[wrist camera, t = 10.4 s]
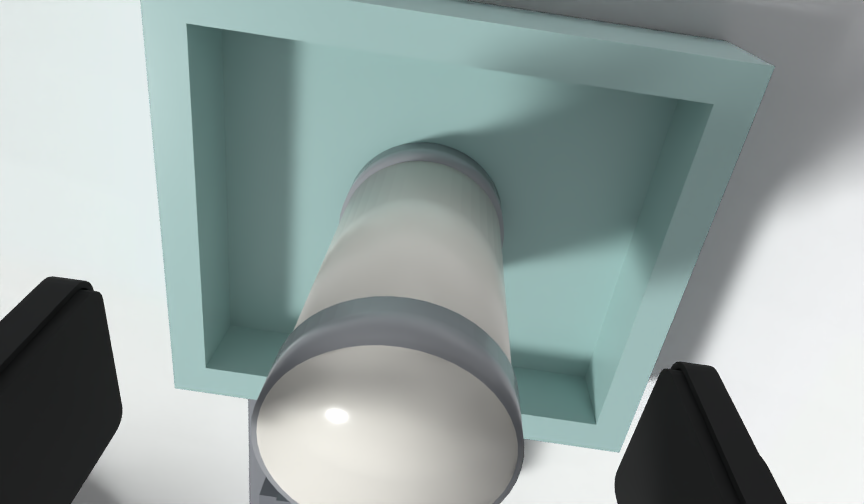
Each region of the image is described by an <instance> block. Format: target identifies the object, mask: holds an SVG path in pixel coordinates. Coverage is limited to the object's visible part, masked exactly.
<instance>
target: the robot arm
mask: <svg viewBox="0 0 864 504" xmlns="http://www.w3.org/2000/svg"><path fill="white" fill-rule="evenodd" d="M121 418H122V403H121V397H120V392H119V386H118V380H117V375H116V369H115V363H114V358H113V352H112V347H111V341H110V335H109V330H108V324H107V319H106V313H105V307H104V302H103V298H102V295H101V294H100V292H97V291H94V290H93V287H92V285H91V284H90V283H89V282H87V281H82V280H75V279H68V278H60V277H53V276H52V277H47V278H46V279H44V280H43V281H42V282H41V283H40V284H39V285H38V286H37V287H36V288H34V289H33V290H32V291H31V292H30V293H29V294H28V295H27V296H26V297H25V298H24V299H23V300H22V301H21V302H20V303H19V304H18V305H17V306H16V307H15V308H14V309H13V310H12V311H10V312H9V313H8V314H7V315H6V316H5V317H4V318H3V319H2V320H1V321H0V504H71V503H72V501H73V499H74V498H75V496H76V495H77V493H78V491H79V490H80V488H81V487H82V485H83V483H84V482H85V480H86V479H87V477H88V476H89V474H90V472H91V471H92V469H93V468H94V466H95V464H96V463H97V461H98V460H99V458H100V456H101V455H102V453H103V452H104V450H105V448H106V447H107V445H108V444H109V442H110V441H111V439H112V437H113V436H114V434H115V433H116V431H117V429H118V427H119V424H120V422H121ZM615 494H616V499H617V503H618V504H787V503H786V501H785V499H784V497H783V495H782V493H781V491H780V489H779V487H778V485H777V483H776V482H775V480H774V478H773V476H772V474H771V472H770V470H769V468H768V466H767V464H766V463H765V461H764V460H763V459H762V457H761V456H760V455H759V453H758V451H757V449H756V447H755V445H754V443H753V441H752V439H751V437H750V435H749V433H748V431H747V429H746V427H745V425H744V423H743V421H742V419H741V417H740V415H739V413H738V412H737V410H736V408H735V406H734V404H733V402H732V400H731V398H730V396H729V394H728V392H727V390H726V388H725V386H724V384H723V382H722V380H721V378H720V376H719V374H718V372H717V371H716V369H715V368H714V367H712V366H708V365H700V364H693V363H686V362H676V363H675V364H673V366H672V367H671V369H663V370H662V371H661V373H660V375H659V377H658V379H657V381H656V384H655V386H654V388H653V390H652V393H651V395H650V397H649V400H648V402H647V404H646V406H645V409H644V411H643V413H642V415H641V418H640V420H639V422H638V425H637V427H636V429H635V431H634V434H633V436H632V438H631V440H630V443H629V445H628V447H627V450H626V452H625V454H624V456H623V459H622V461H621V463H620V465H619V468H618V470H617V473H616V477H615Z"/></svg>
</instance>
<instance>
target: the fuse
mask: <svg viewBox="0 0 864 504" xmlns="http://www.w3.org/2000/svg"><path fill="white" fill-rule="evenodd" d="M503 241H504V225H503V214H502V206H501V200H500V197H499V194H498V191H497V189H496V186H495V184H494V182H493V181H492V179H491V178H490V176H489V175H488V173H487V172H486V171H485V170H484V169H483V168H482V166H480V165H479V164H478V163H477V162H476V161H475V160H474V159H472V158H471V157H469V156H468V155H466V154H465V153H463V152H461V151H459V150H457V149H454V148H451V147H449V146H446V145H442V144H437V143H429V142H413V143H407V144H402V145H398V146H395V147H392V148H390V149H388V150H385V151H383V152H381V153H380V154H378V155H377V156H375V157H374V158H373V159H371V160H370V161H369V162H368V163H367V164H366V165H365V166H364V167H363V168H362V169H361V170H360V172H359V173H358V175H357V176H356V178H355V179H354V181H353V184H352V186H351V188H350V190H349V192H348V195H347V197H346V199H345V202H344V204H343V207H342V210H341V213H340V220H339V225H338V227H337V230H336V232H335V234H334V237H333V239H332V241H331V244H330V246H329V248H328V251H327V253H326V255H325V258H324V260H323V262H322V265H321V267H320V269H319V272H318V274H317V276H316V279H315V281H314V283H313V286H312V288H311V290H310V293H309V295H308V297H307V300H306V302H305V304H304V307H303V309H302V312H301V314H300V316H299V319H298V321H297V323H296V326H295V328H294V330H293V332H292V333H291V334H290V335H289V336H288V337H287V339H286V340H285V342H284V343H283V344H282V346H281V348H280V350H279V352H278V354H277V356H276V358H275V360H274V363H273V365H272V367H271V369H270V372H269V374H268V376H267V378H266V381H265V383H264V385H263V388H262V390H261V392H260V394H259V397H258V399H257V401H256V403H255V406H254V410H253V414H252V417H251V429H250V431H251V441H252V446H253V450H254V453H255V457H256V459H257V461H258V463H259V465H260V468H261V469H262V471H263V472H264V474H265V476H266V477H267V479H268V480H269V481H270V483H271V484H272V485H273V486H274V487H275V488H276V490H277V491H278V492H279V493H280V494H282V495H283V496H284V497H285V498H286V499H287V500H288V501H289V502H291V503H292V504H500V503H501V502H502V501H503V500H504V498H505V497H506V496H507V495H508V494H509V493H510V491H511V489H512V488H513V486H514V485H515V483H516V481H517V479H518V476H519V474H520V471H521V468H522V463H523V458H524V439H523V428H522V417H521V407H520V396H519V389H518V383H517V379H516V376H515V373H514V370H513V367H512V366H511V355H510V342H509V330H508V318H507V306H506V294H505V282H504V269H503V257H502V248H503Z"/></svg>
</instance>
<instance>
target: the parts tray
mask: <svg viewBox="0 0 864 504" xmlns="http://www.w3.org/2000/svg"><path fill="white" fill-rule="evenodd" d="M140 2H141V13H142V25H143V36H144V47H145V58H146V69H147V81H148V92H149V103H150V114H151V125H152V137H153V148H154V159H155V170H156V181H157V193H158V204H159V215H160V226H161V237H162V249H163V260H164V271H165V282H166V293H167V305H168V316H169V327H170V338H171V349H172V361H173V372H174V383H175V388H177V389H184V390H191V391H198V392H205V393H212V394H218V395H225V396H232V397H239V398H246V399H253V400H257V399H258V397H259V394H260V392H261V390H262V388H263V385H264V383H265V381H266V378H267V376H268V374H269V372H270V369H271V367H272V365H273V363H274V360H275V358H276V356H277V354H278V352H279V350H280V348H281V346H282V344H283V343H284V342H285V340H286V339H287V337H288V336H289V335H290V334H291V333H292V332H293V330H294V328H295V326H296V323H297V321H298V319H299V316H300V314H301V312H302V309H303V307H304V304H305V302H306V300H307V297H308V295H309V293H310V290H311V288H312V286H313V283H314V281H315V279H316V276H317V274H318V272H319V269H320V267H321V265H322V262H323V260H324V258H325V255H326V253H327V251H328V248H329V246H330V244H331V241H332V239H333V237H334V234H335V232H336V230H337V227H338V225H339V220H340V213H341V210H342V207H343V204H344V202H345V199H346V197H347V195H348V192H349V190H350V188H351V186H352V184H353V181H354V179H355V178H356V176H357V175H358V173H359V172H360V170H361V169H362V168H363V167H364V166H365V165H366V164H367V163H368V162H369V161H370V160H371V159H373V158H374V157H375V156H377V155H378V154H380V153H381V152H383V151H385V150H388V149H390V148H392V147H395V146H398V145H402V144H407V143H413V142H429V143H437V144H442V145H446V146H449V147H451V148H454V149H457V150H459V151H461V152H463V153H465V154H466V155H468V156H469V157H471V158H472V159H474V160H475V161H476V162H477V163H478V164H479V165H480V166H482V168H483V169H484V170H485V171H486V172H487V173H488V175H489V176H490V178H491V179H492V181H493V182H494V184H495V186H496V189H497V191H498V194H499V197H500V200H501V206H502V214H503V225H504V241H503V248H502V257H503V269H504V282H505V294H506V306H507V318H508V330H509V342H510V355H511V366H512V367H513V370H514V373H515V376H516V379H517V383H518V389H519V396H520V407H521V417H522V428H523V439H529V440H536V441H543V442H550V443H557V444H564V445H571V446H578V447H585V448H592V449H598V450H605V451H612V452H620V450H621V447H622V445H623V442H624V440H625V437H626V435H627V432H628V430H629V427H630V425H631V422H632V420H633V417H634V415H635V412H636V410H637V408H638V405H639V403H640V400H641V398H642V395H643V393H644V390H645V388H646V385H647V383H648V380H649V378H650V375H651V373H652V370H653V368H654V365H655V363H656V360H657V358H658V355H659V353H660V351H661V348H662V346H663V343H664V341H665V338H666V336H667V333H668V331H669V328H670V326H671V323H672V321H673V318H674V316H675V313H676V311H677V308H678V306H679V303H680V301H681V298H682V296H683V294H684V291H685V289H686V286H687V284H688V281H689V279H690V276H691V274H692V271H693V269H694V266H695V264H696V261H697V259H698V256H699V254H700V251H701V249H702V246H703V244H704V241H705V239H706V237H707V234H708V232H709V229H710V227H711V224H712V222H713V219H714V217H715V214H716V212H717V209H718V207H719V204H720V202H721V199H722V197H723V194H724V192H725V189H726V187H727V184H728V182H729V180H730V177H731V175H732V172H733V170H734V167H735V165H736V162H737V160H738V157H739V155H740V152H741V150H742V147H743V145H744V142H745V140H746V137H747V135H748V132H749V130H750V127H751V125H752V123H753V120H754V118H755V115H756V113H757V110H758V108H759V105H760V103H761V100H762V98H763V95H764V93H765V90H766V88H767V85H768V83H769V80H770V78H771V75H772V73H773V70H774V68H775V66H773V65H771V64H769V63H767V62H765V61H763V60H762V59H760V58H758V57H756V56H754V55H752V54H750V53H748V52H746V51H744V50H743V49H741V48H739V47H737V46H735V45H733V44H731V43H729V42H727V41H724V40H717V39H711V38H704V37H698V36H692V35H685V34H679V33H672V32H666V31H659V30H653V29H647V28H640V27H634V26H627V25H621V24H614V23H608V22H601V21H595V20H589V19H582V18H576V17H569V16H563V15H556V14H550V13H543V12H537V11H531V10H524V9H518V8H511V7H505V6H498V5H492V4H486V3H479V2H473V1H466V0H140Z"/></svg>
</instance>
